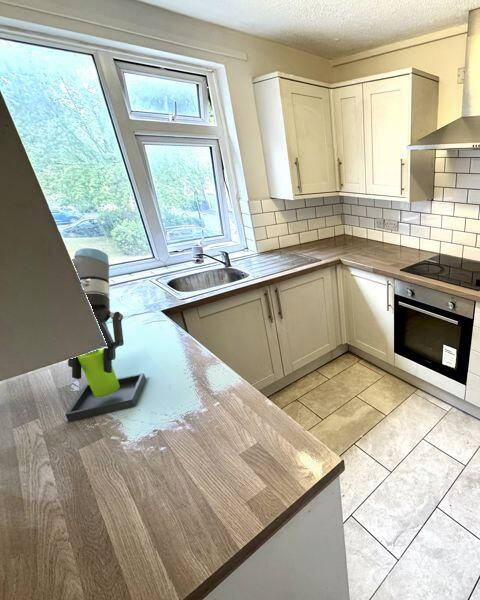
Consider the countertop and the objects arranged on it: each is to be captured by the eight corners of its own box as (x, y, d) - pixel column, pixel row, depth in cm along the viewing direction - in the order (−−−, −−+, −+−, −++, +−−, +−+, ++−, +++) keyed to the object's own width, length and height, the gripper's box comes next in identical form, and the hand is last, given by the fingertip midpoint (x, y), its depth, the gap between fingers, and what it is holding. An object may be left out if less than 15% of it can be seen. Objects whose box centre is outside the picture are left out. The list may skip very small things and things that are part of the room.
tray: (68, 421, 88) (64, 414, 87) (88, 391, 99) (85, 384, 98) (134, 406, 93) (132, 399, 92) (146, 379, 104) (143, 372, 103)
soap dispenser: (100, 401, 91) (73, 339, 83) (90, 392, 94) (64, 331, 86) (125, 390, 96) (102, 329, 88) (114, 381, 99) (92, 323, 91)
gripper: (40, 297, 89) (36, 381, 82) (126, 287, 96) (129, 363, 89) (58, 308, 95) (55, 386, 88) (136, 297, 103) (140, 369, 95)
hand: (92, 374), depth 89 cm, fingers closed on soap dispenser, 6 cm apart
